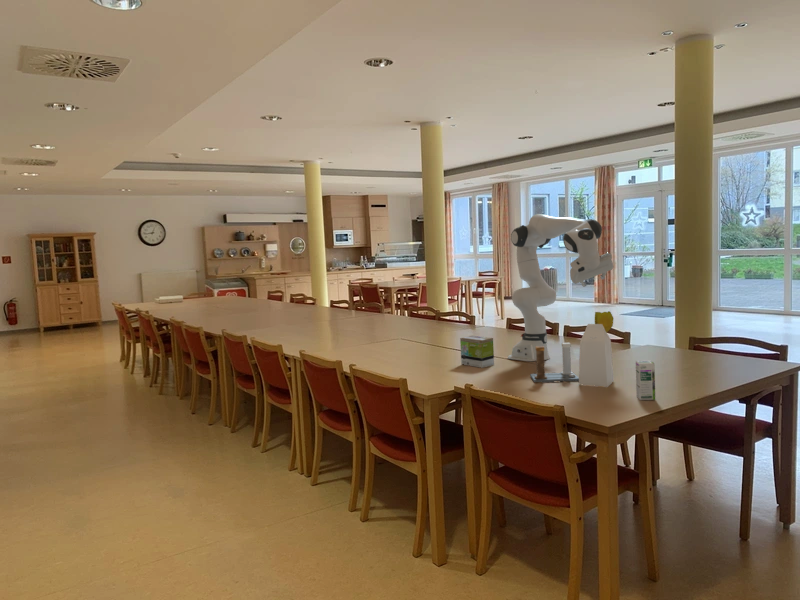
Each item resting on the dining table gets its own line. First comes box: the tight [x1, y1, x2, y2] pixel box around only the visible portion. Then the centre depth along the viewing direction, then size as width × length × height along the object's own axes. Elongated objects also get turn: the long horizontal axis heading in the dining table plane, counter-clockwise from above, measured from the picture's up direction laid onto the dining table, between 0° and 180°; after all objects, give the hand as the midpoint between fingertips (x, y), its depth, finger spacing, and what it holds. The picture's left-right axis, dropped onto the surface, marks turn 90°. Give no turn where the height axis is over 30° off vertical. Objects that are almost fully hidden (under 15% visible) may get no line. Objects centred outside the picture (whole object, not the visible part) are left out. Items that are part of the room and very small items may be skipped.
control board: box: [529, 372, 579, 384], centre depth 268 cm, size 20×13×2 cm, turn 86°
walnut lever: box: [535, 346, 547, 379], centre depth 265 cm, size 5×4×14 cm
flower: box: [594, 310, 614, 333], centre depth 267 cm, size 9×8×30 cm
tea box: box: [459, 335, 495, 369], centre depth 308 cm, size 15×10×15 cm, turn 42°
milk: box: [578, 323, 615, 388], centre depth 255 cm, size 12×12×26 cm
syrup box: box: [635, 360, 656, 401], centre depth 227 cm, size 6×6×14 cm
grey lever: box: [560, 342, 574, 375], centre depth 270 cm, size 5×4×14 cm
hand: (593, 282), depth 281 cm, fingers open, 8 cm apart
